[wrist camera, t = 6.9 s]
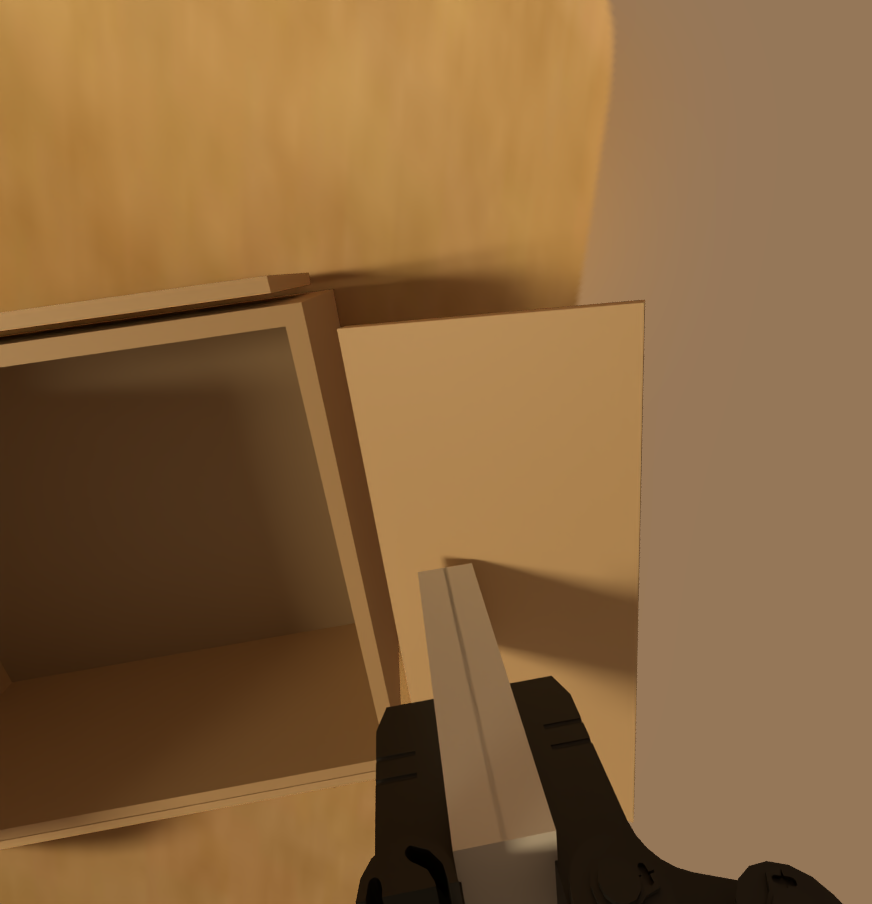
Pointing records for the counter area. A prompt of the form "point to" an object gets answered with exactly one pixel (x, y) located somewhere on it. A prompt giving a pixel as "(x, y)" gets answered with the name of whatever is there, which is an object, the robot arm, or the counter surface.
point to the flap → (516, 491)
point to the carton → (183, 561)
